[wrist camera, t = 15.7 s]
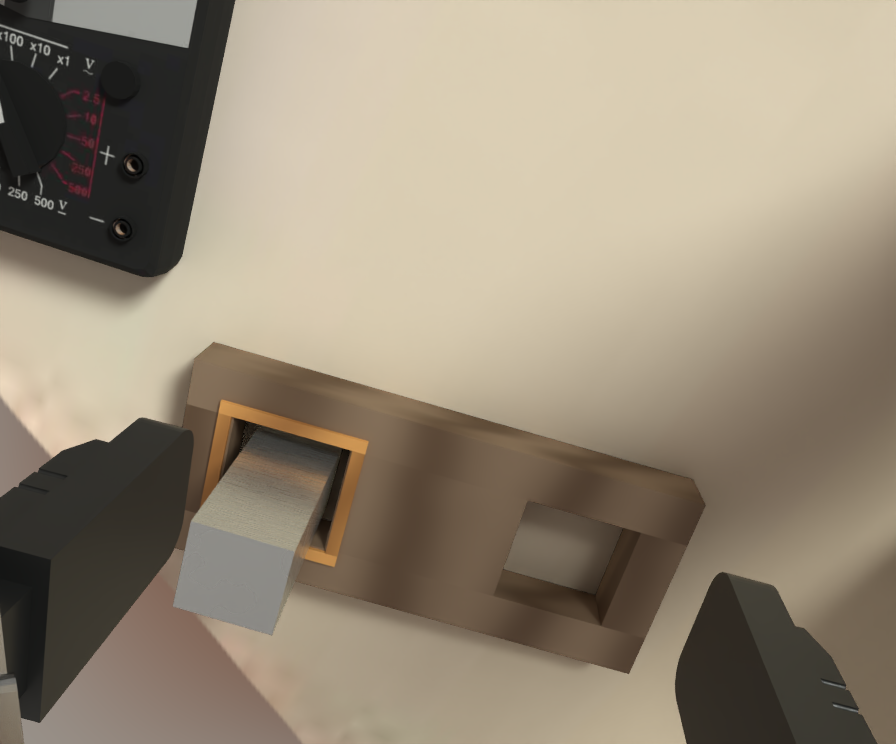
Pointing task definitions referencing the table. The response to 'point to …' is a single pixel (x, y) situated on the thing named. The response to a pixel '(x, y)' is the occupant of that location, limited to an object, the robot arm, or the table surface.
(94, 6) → the multimeter
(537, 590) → the hole board
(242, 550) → the steel peg
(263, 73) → the table surface
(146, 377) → the table surface
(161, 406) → the table surface
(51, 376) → the table surface
